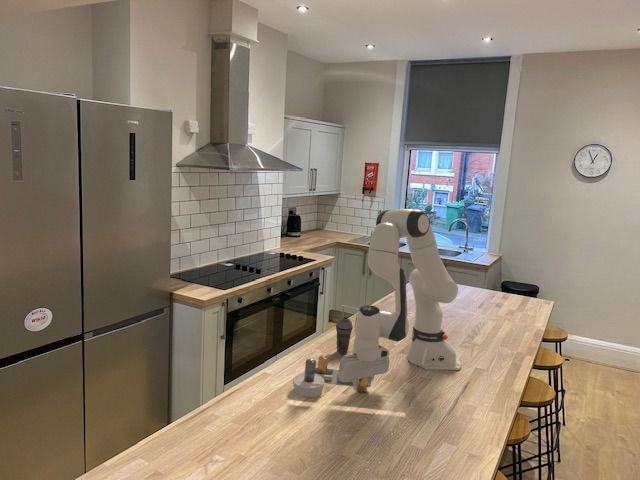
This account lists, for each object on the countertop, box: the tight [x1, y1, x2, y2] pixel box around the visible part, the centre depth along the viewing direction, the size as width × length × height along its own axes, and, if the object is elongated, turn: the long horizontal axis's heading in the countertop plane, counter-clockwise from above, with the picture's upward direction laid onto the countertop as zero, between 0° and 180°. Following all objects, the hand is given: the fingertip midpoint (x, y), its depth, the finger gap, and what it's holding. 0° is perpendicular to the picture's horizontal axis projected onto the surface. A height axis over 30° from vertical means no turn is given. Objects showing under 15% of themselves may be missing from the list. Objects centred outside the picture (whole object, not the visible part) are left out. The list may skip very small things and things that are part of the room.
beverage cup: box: [335, 307, 353, 355], centre depth 202 cm, size 7×7×20 cm
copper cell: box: [356, 377, 368, 395], centre depth 168 cm, size 4×4×8 cm
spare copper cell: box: [317, 355, 329, 375], centre depth 178 cm, size 4×4×8 cm
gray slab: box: [315, 365, 354, 387], centre depth 178 cm, size 22×12×3 cm, turn 86°
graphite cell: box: [304, 358, 317, 382], centre depth 165 cm, size 4×4×8 cm
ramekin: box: [292, 372, 325, 398], centre depth 166 cm, size 11×11×5 cm
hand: (361, 387), depth 168 cm, fingers closed on copper cell, 4 cm apart
